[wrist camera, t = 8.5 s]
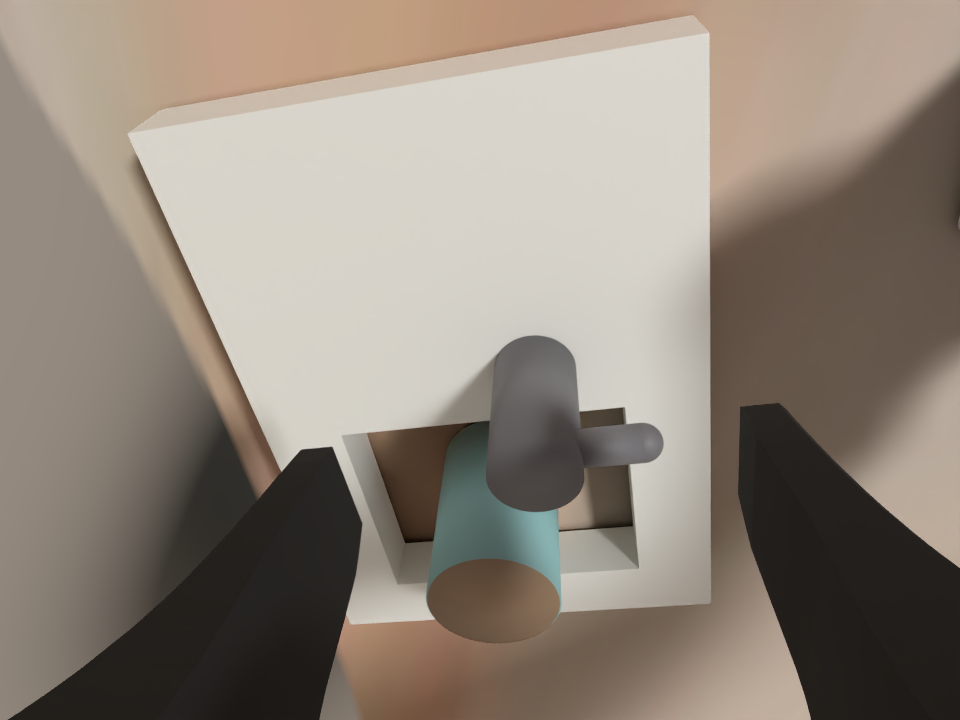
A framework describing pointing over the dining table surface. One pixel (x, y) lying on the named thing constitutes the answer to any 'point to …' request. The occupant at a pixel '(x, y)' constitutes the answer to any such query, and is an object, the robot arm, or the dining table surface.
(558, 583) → the cylinder
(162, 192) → the white box with opening
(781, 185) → the dining table surface
